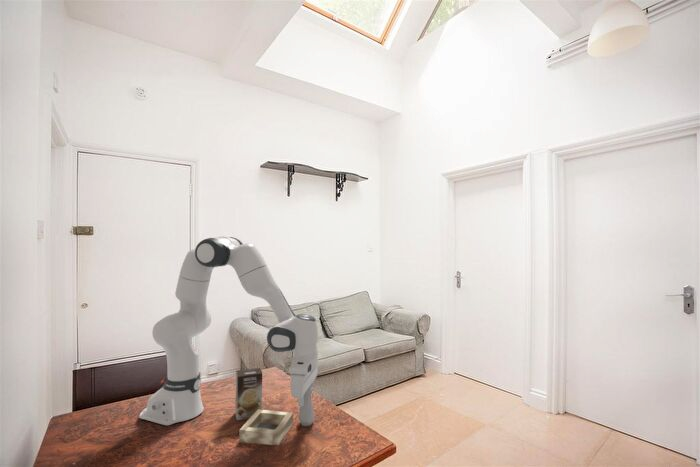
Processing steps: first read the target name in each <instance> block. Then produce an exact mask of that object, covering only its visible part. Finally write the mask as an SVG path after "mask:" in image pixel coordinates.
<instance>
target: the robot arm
mask: <svg viewBox="0 0 700 467" xmlns="http://www.w3.org/2000/svg"><path fill="white" fill-rule="evenodd" d="M225 266H230V267H232V268H233V269H234V271H235V273H236V275H237V278H238V280H239V282H240V285H241V286H242V288H243V290H244V291H245V292H246V293H247V294H249V295H250V296H253V297H255V298H256V297H257V298H260V299H261V300H262V299H263V300H264V301H265V302H267V303H268V305H269V306H270V308H271V310H272V311H273V314H274V316H275V317H276V319H277V321H278V323H276V325H273V327H271V328H270V329H269V330H268V332H267V334H266V342H267V345H268V346H269V348H270V349H271V350H272V351H274V352H276V353H283V352H291V351H292V352H293V353H292V354H293V357H292V361H291V364H290V365H289V368H288V371H289V374H290V380H289V381H290V382H289V383H290V394H291V397H292V399H293V398H294V399H297V402H298V403H297V405H298V407H300V406H303V405H304V398H303V397H304V394H305V393H306V391H307V390H308V388H309V387H310V386H311V387H312V388H313V387H314V382H315V379H317V377H318V371H319V369H318V368H319V366H318V365H319V349H318V341H319V331H318V324H317V322H318V321H317V320H316V318H315V317H314V316H312V315H310V314H306V313H305V314H303V313H301V314H300V313H299V314H295V313H294V311H293V310H292V308H291V306H290V304H289V303H288V301H287V299H286V298H285V296H284V293H283V292H282V290H281V289H280V287H279V286H278V283H276V281H275V279H274V276H272V272H270V271H271V270H270V269H269V267H268V264H267V263H266V260H265V259H264V256H262V254H261V253H260V251H259V250H258V248H257V247H256V246H255V245H254V244H252V243H243V242H242V241H241V240H240V239H238V238H236V237H232V236H218V237H208V238H204V239H202V240H201V241H200V242H199V243H198V244H197V245H196V247H195V248H193V249H190V250H188V252H187V253H186V255H185V258H184V260H183V262H182V265H181V268H180V271H179V276H178V280H177V284H176V288H175V298H176V299H177V300H178V301H179V304H180V306H179V307H180V308H179V310H178V312H175V313H172V314H169V315H166V316H165V317H163V318H161V319H160V320H158V321H157V322H156V323H155V324H154V326H153V328H152V339H153V340H154V342H155V343H156V344H158V345H159V346H160V347H162V348H163V350H164V352H165V355H166V361H167V363H166V364H167V365H166V366H167V376H165V377H164V378H163V379H161V380H160V384H163V383H164V384H163V386H162V387H160V389H158V390H157V391H156V392H154V393H153V394H152V395H151V396H150V397H149V399H148V400H147V404H146V407H145V408H144V409H143V410H142V411H141V412H140V413H139V416H138V417H139V419H142V420H145V421H148V422H149V421H150V422H152V423H156V424H159V425H163V426H170V425H174V424H176V423H180V422H184V421H185V422H186V421H188V420H191V419H193V418H196V417H198V416H199V415H200V414H202V412H204V408H205V407H204V404H203V401H202V397H201V396H202V395H201V389H200V388H201V383H202V382H201V372H200V353H199V351H198V350H196V349H194V348H193V345H192V338H194V337H196V336H198V335H200V334H202V333H203V332H204V331H206V330H207V329H208V328H209V327H210V325H211V322H212V316H211V313H210V311H209V310H208V309H207V296H208V290H209V286H210V281H211V278H212V273H213V270H214V268H218V267H225Z"/></svg>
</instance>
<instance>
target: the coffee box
mask: <svg viewBox="0 0 700 467" xmlns="http://www.w3.org/2000/svg"><path fill="white" fill-rule="evenodd" d="M235 372H236V374H235V375H236V376H235V418H236V419H235V420H236V421H240V420H248V419H250V418H251V416H252V415H253V414H254V413H255V412H256V411H257V410H258V409H260V410H263V409H262V408H263V371H262V369H261V367H257V368H256V367H255V368H247V369H239V370H236V371H235Z"/></svg>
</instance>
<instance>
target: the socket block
mask: <svg viewBox="0 0 700 467" xmlns="http://www.w3.org/2000/svg"><path fill="white" fill-rule="evenodd" d="M293 425H294V412H288V411H279V410H277V411H276V410H270V409H269V410H268V409H262V410H260V409H258V410H257V411H256V412H255V413H254V414H253V415H252V416H251V418H248V419H247V421H246V422H245V423H244V424H243V425H242V426H241V428H240V429H239V431H238V432H239V435H238V437H239V441H238V442H239V443H246V444H247V443H248V444H257V445H258V444H259V445H268V446H269V445H270V446H271V445H272V446H279V445H280V444H281V443H282V442H283V440H284V438H285V437H286V436H287V434H288V433H289V431H290V430H291V428H292V426H293Z"/></svg>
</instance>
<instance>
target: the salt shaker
mask: <svg viewBox="0 0 700 467" xmlns="http://www.w3.org/2000/svg"><path fill="white" fill-rule="evenodd" d="M313 390H314V389H313V387H311V386H310V387H309V388H308V390H307V391H306V393H305V394H304V397H303V398H304V405H303V406H299V412H298V417H297V418H298V422H300V425H301V427H310V426H312V425H313V422H314V420H315V410H314V405H313V400H312V394H313Z"/></svg>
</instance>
